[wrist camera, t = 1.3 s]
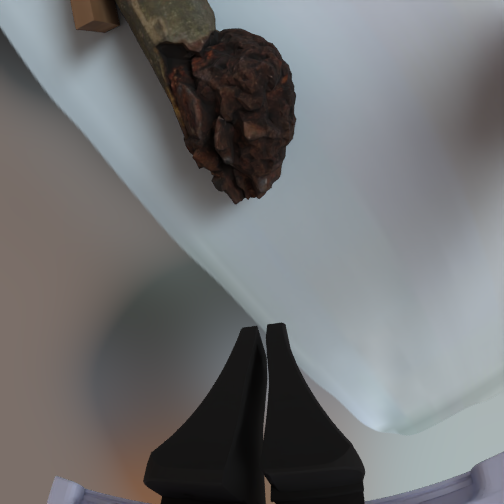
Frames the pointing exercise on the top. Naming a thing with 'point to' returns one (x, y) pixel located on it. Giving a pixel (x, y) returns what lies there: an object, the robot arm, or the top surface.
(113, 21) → the corner fence
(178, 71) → the brown rock
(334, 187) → the top surface
